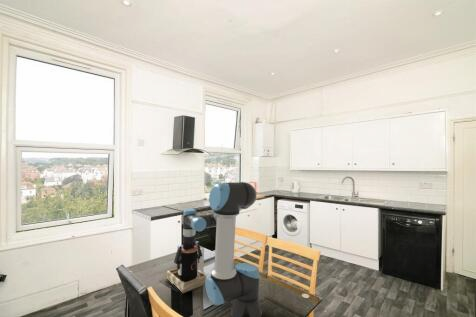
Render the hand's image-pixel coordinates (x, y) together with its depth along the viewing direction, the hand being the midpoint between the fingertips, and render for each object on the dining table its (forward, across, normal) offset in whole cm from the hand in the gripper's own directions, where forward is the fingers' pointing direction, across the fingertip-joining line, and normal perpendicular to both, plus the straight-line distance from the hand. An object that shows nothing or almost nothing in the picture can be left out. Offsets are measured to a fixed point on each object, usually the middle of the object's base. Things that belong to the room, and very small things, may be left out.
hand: (188, 271), depth 142 cm
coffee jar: (+4, 0, 0) cm, 4 cm away
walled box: (+7, 0, -2) cm, 7 cm away
